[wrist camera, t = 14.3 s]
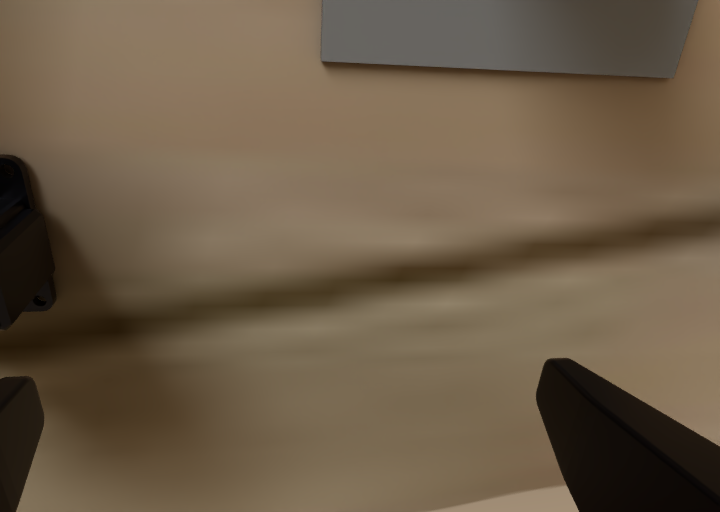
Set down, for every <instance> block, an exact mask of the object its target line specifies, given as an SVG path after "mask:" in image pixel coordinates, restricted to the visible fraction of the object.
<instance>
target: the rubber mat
mask: <svg viewBox="0 0 720 512" xmlns="http://www.w3.org/2000/svg"><path fill="white" fill-rule="evenodd" d="M697 3H698V0H322V26H321V61H328V62H348V63H369V64H389V65H410V66H430V67H451V68H471V69H492V70H512V71H533V72H553V73H574V74H594V75H615V76H635V77H656V78H674V75H675V72H676V69H677V65H678V62H679V59H680V56H681V53H682V50H683V47H684V43H685V40H686V37H687V34H688V31H689V28H690V25H691V22H692V18H693V15H694V12H695V9H696V6H697Z"/></svg>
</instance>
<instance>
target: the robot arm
mask: <svg viewBox="0 0 720 512" xmlns="http://www.w3.org/2000/svg"><path fill="white" fill-rule="evenodd" d="M4 164H5V165H9V166H11V167H12V168H13V170H14V175H13V174H9V173H8V172H6V171H5V169H4ZM54 271H55V265H54V261H53V257H52V252H51V248H50V244H49V239H48V235H47V231H46V226H45V222H44V217H43V215H42V214H41V213H40V212H39V211H38V210H37V209H36V207H35V203H34V198H33V194H32V190H31V186H30V181H29V177H28V173H27V169H26V166H25V164H24V163H23V161H22V160H21V159H19V158H18V157H16V156H13V155H3V154H0V330H7V329H8V328H9V327H10V326H11V325H12V324H13V323H14V322H15V320H16V319H17V318H18V316H19V315H20V314H21V313H22V312H31V311H46V310H48V309H50V308H51V307H52V305H53V304H54V303H55V301H56V292H55V288H54V283H53V279H52V274H53V272H54ZM37 296H42V297H44V298H45V299H46V301H41V300H40V299H38V297H37ZM536 401H537V406H538V408H539V411H540V414H541V417H542V420H543V423H544V425H545V428H546V431H547V434H548V437H549V439H550V442H551V445H552V448H553V451H554V453H555V456H556V459H557V462H558V465H559V467H560V470H561V472H562V475H563V478H564V480H565V482H566V484H567V487H568V488H569V491H570V493H571V495H572V497H573V499H574V501H575V503H576V505H577V508H578V510H579V512H720V446H718V445H716V444H715V443H713V442H711V441H709V440H708V439H706V438H704V437H703V436H701V435H699V434H697V433H696V432H694V431H692V430H691V429H689V428H687V427H686V426H684V425H682V424H680V423H679V422H677V421H675V420H674V419H672V418H670V417H668V416H667V415H665V414H663V413H662V412H660V411H658V410H657V409H655V408H653V407H651V406H650V405H648V404H646V403H645V402H643V401H641V400H639V399H638V398H636V397H634V396H633V395H631V394H629V393H628V392H626V391H624V390H622V389H621V388H619V387H617V386H616V385H614V384H612V383H610V382H609V381H607V380H605V379H604V378H602V377H600V376H599V375H597V374H595V373H593V372H592V371H590V370H588V369H587V368H585V367H583V366H581V365H580V364H578V363H576V362H575V361H573V360H571V359H569V358H551V359H548V360H547V361H546V362H545V363H544V366H543V370H542V373H541V377H540V380H539V384H538V387H537V391H536ZM43 426H44V412H43V408H42V405H41V401H40V398H39V394H38V390H37V387H36V384H35V381H34V380H33V379H32V378H31V377H28V376H20V377H4V378H2V379H0V512H16V510H17V507H18V504H19V501H20V498H21V495H22V492H23V489H24V486H25V483H26V480H27V477H28V473H29V470H30V467H31V464H32V461H33V458H34V455H35V452H36V449H37V445H38V442H39V439H40V436H41V433H42V430H43Z"/></svg>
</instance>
